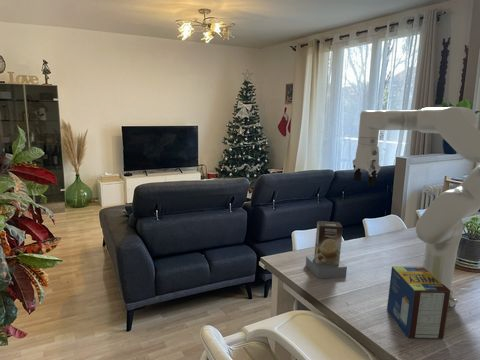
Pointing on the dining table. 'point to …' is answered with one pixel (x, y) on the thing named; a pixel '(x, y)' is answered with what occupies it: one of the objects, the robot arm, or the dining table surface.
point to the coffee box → (328, 243)
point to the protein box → (418, 302)
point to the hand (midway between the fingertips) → (364, 183)
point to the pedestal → (325, 269)
